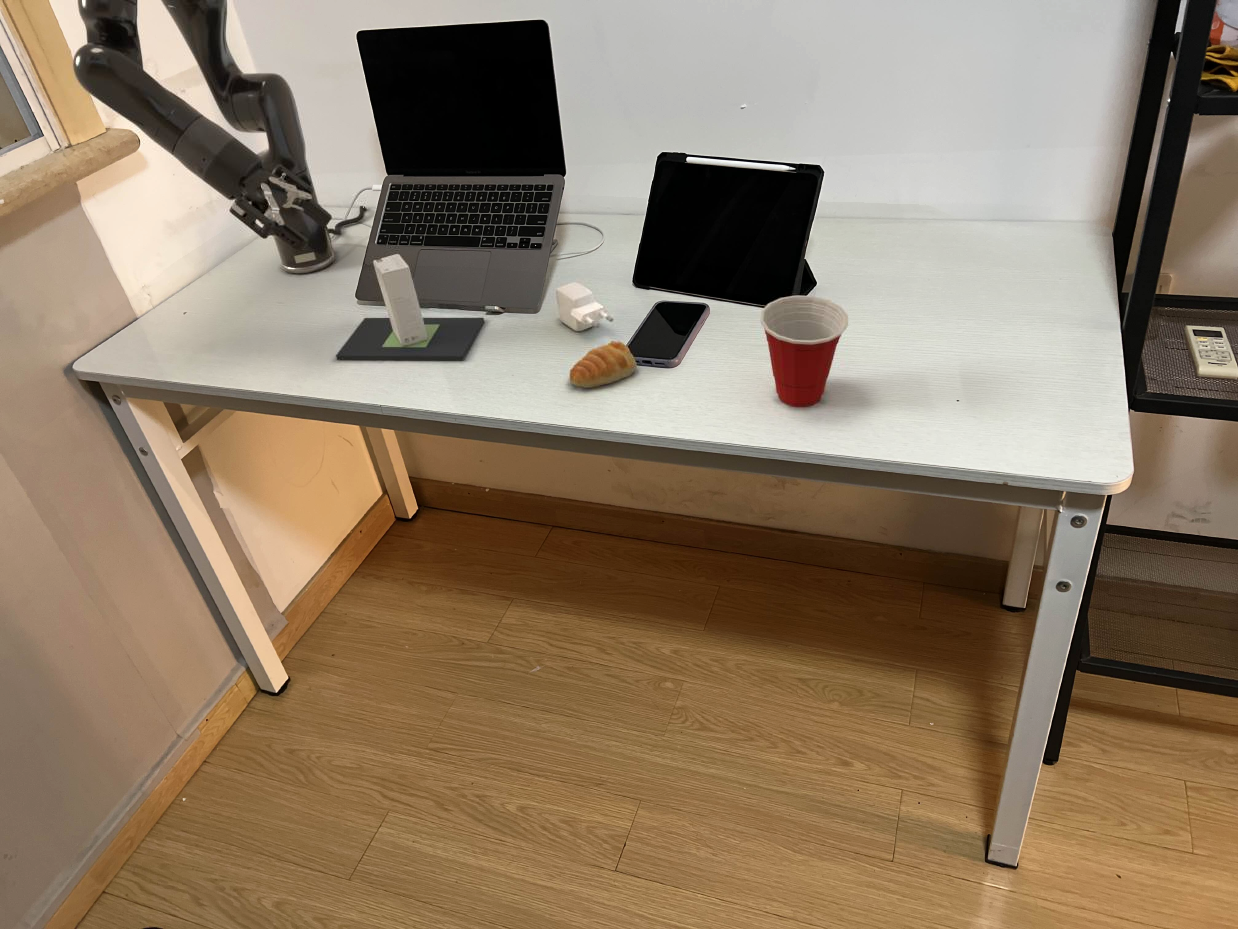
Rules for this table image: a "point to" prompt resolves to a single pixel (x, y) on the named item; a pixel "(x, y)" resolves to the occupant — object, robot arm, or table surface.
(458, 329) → the mat
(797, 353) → the plastic cup
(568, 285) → the power adapter
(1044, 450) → the table surface
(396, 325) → the cosmetic box
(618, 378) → the pastry
